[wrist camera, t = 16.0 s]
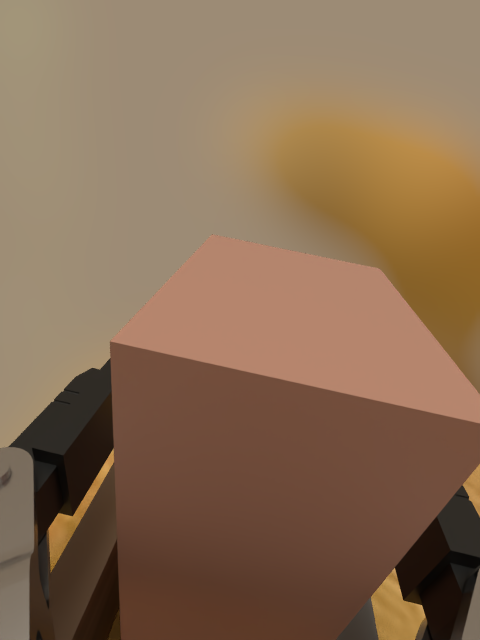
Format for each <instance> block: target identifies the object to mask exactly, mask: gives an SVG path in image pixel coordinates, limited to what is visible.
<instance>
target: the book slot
mask: <svg viewBox="0 0 480 640" xmlns="http://www.w3.org/2000/svg"><path fill="white" fill-rule="evenodd" d="M51 596H52V615H53V625H54V632H55V640H107V638H108V635H109V633H110V630H111V627H112V625H113V622H114V619H115V617H116V614H117V611H118V609H119V606H120V604H119V576H118V549H117V521H116V494H115V467H114V463H113V465H112V467H111V469H110V470H109V472H108V474H107V476H106V477H105V479H104V481H103V483H102V484H101V486H100V488H99V490H98V491H97V493H96V495H95V497H94V498H93V500H92V502H91V504H90V505H89V507H88V509H87V511H86V512H85V514H84V516H83V518H82V519H81V521H80V523H79V525H78V527H77V528H76V530H75V532H74V534H73V535H72V537H71V539H70V541H69V542H68V544H67V546H66V548H65V549H64V551H63V553H62V555H61V556H60V558H59V560H58V562H57V563H56V565H55V567H54V569H53V570H52V572H51ZM336 640H378V635H377V629H376V624H375V618H374V613H373V607H372V602H371V597H370V598H369V599H368V601H367V602H366V603H365V604H364V606H363V607H362V608H361V609H360V610H359V612H358V613H357V614H356V615H355V617H354V618H353V619H352V620H351V621H350V623H349V624H348V625H347V626H346V628H345V629H344V630H343V631H342V632H341V634H340V635H339V636H338V637H337V639H336Z"/></svg>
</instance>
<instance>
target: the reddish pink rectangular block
mask: <svg viewBox="0 0 480 640" xmlns="http://www.w3.org/2000/svg"><path fill="white" fill-rule="evenodd" d="M110 356H111V385H112V412H113V439H114V467H115V494H116V521H117V549H118V576H119V604H120V631H121V640H336V639H337V637H338V636H339V635H340V634H341V632H342V631H343V630H344V629H345V628H346V626H347V625H348V624H349V623H350V621H351V620H352V619H353V618H354V617H355V615H356V614H357V613H358V612H359V610H360V609H361V608H362V607H363V606H364V604H365V603H366V602H367V601H368V599H369V598H370V597H371V596H372V595H373V593H374V592H375V591H376V590H377V588H378V587H379V586H380V585H381V584H382V582H383V581H384V580H385V579H386V577H387V576H388V575H389V574H390V573H391V571H392V570H393V569H394V568H395V566H396V565H397V564H398V563H399V562H400V560H401V559H402V558H403V557H404V555H405V554H406V553H407V552H408V551H409V549H410V548H411V547H412V546H413V544H414V543H415V542H416V541H417V540H418V538H419V537H420V536H421V535H422V533H423V532H424V531H425V530H426V529H427V527H428V526H429V525H430V524H431V522H432V521H433V520H434V519H435V518H436V516H437V515H438V514H439V513H440V511H441V510H442V509H443V508H444V507H445V505H446V504H447V503H448V502H449V500H450V499H451V498H452V497H453V496H454V494H455V493H456V492H457V491H458V489H459V488H460V487H461V486H462V485H463V483H464V482H465V481H466V480H467V478H468V477H469V476H470V475H471V474H472V472H473V471H474V470H475V469H476V467H477V466H478V465H479V464H480V394H479V393H478V392H477V390H476V389H475V388H474V387H473V385H472V384H471V383H470V382H469V380H468V379H467V378H466V377H465V376H464V374H463V373H462V372H461V370H460V369H459V368H458V367H457V365H456V364H455V363H454V362H453V360H452V359H451V358H450V356H449V355H448V354H447V353H446V351H444V349H443V348H442V346H441V345H440V344H439V343H438V342H437V340H436V339H435V338H434V336H433V335H432V334H431V333H430V331H429V330H428V329H427V328H426V326H425V325H424V324H423V323H422V321H421V320H420V319H419V318H418V316H417V315H416V314H415V312H414V311H413V310H412V309H411V307H410V306H409V305H408V304H407V302H406V301H405V300H404V299H403V297H402V296H401V295H400V294H399V292H398V291H397V290H396V289H395V287H394V286H393V285H392V284H391V282H390V281H389V280H388V278H387V277H386V276H385V275H384V274H383V272H382V271H381V270H380V269H379V268H374V267H369V266H364V265H359V264H354V263H349V262H344V261H340V260H335V259H329V258H325V257H320V256H315V255H311V254H306V253H301V252H296V251H291V250H286V249H281V248H276V247H271V246H267V245H262V244H257V243H252V242H247V241H242V240H237V239H232V238H227V237H222V236H218V235H213V234H212V235H211V236H210V237H209V238H208V239H207V240H206V241H205V242H204V243H203V244H202V246H201V247H200V248H199V249H198V250H197V251H196V252H195V253H194V254H193V255H192V256H191V257H190V258H189V259H188V260H187V261H186V262H185V263H184V264H183V265H182V266H181V267H180V269H178V271H177V272H176V273H175V274H174V275H173V276H172V277H171V278H170V279H169V280H168V281H167V282H166V283H165V284H164V285H163V286H162V287H161V288H160V289H159V291H157V293H156V294H155V295H154V296H153V297H152V298H151V299H150V300H149V301H148V302H147V303H146V304H145V305H144V306H143V307H142V308H141V309H140V310H139V311H138V312H137V314H136V315H135V316H134V317H133V318H132V319H131V320H130V321H129V322H128V323H127V324H126V325H125V326H124V327H123V328H122V329H121V330H120V331H119V332H118V333H117V334H116V335H115V337H114V338H113V339H112V340H111V341H110Z"/></svg>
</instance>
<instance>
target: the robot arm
mask: <svg viewBox="0 0 480 640" xmlns="http://www.w3.org/2000/svg"><path fill="white" fill-rule="evenodd" d="M113 448H114V439H113V412H112V385H111V358H110V359H109V360H108V361H107V362H106V364H105V365H104V366H103V367H102V368H101V369H100V370H99V369H95V368H91V369H89V370H88V371H86V372H84V373H82V374H80V375H78V376H76V377H75V378H74V379H73V380H72V381H71V382H70V383H69V384H68V386H67V387H66V388H65V389H64V391H63V392H61V393H60V394H59V395H58V396H57V397H56V398H55V399H54V402H51V403H50V405H48V406H47V408H46V409H45V410H44V411H43V412H42V413H41V414H40V415H39V416H38V417H37V418H36V419H35V420H34V421H33V422H32V423H31V424H30V425H29V426H28V427H27V428H26V430H24V431H23V433H21V435H20V436H19V437H18V438H17V439H16V440H15V441H14V442H13V443H12V444H11V445H10V446H9V447H6V448H0V640H55V632H54V625H53V615H52V596H51V574H50V552H49V531H48V528H49V527H50V525H51V524H52V522H53V521H54V519H55V517H56V516H57V514H58V513H61V514H65V515H69V516H73V515H74V513H75V511H76V510H77V508H78V506H79V505H80V503H81V501H82V500H83V498H84V496H85V495H86V493H87V491H88V490H89V488H90V486H91V485H92V483H93V481H94V480H95V478H96V476H97V475H98V473H99V471H100V470H101V468H102V466H103V465H104V463H105V461H106V460H107V458H108V456H109V455H110V453H111V451H112V450H113ZM395 569H396V573H397V577H398V581H399V585H400V589H401V593H402V597H403V600H404V601H408V602H412V603H416V604H420V605H422V606H423V609H424V613H425V616H426V618H425V619H424V620H423V621H422V623H421V625H420V627H419V630H418V633H417V636H416V638H415V640H480V517H479V515H478V513H477V511H476V509H475V508H474V506H473V504H472V502H471V501H469V496H468V494H467V492H466V490H465V488H464V487H463V486H461V487H460V488H459V489H458V491H457V492H456V493H455V494H454V496H453V497H452V498H451V499H450V500H449V502H448V503H447V504H446V505H445V507H444V508H443V509H442V510H441V511H440V513H439V514H438V515H437V516H436V518H435V519H434V520H433V521H432V522H431V524H430V525H429V526H428V527H427V529H426V530H425V531H424V532H423V533H422V535H421V536H420V537H419V538H418V540H417V541H416V542H415V543H414V544H413V546H412V547H411V548H410V549H409V551H408V552H407V553H406V554H405V555H404V557H403V558H402V559H401V560H400V562H399V563H398V564H397V565H396V566H395Z"/></svg>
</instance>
